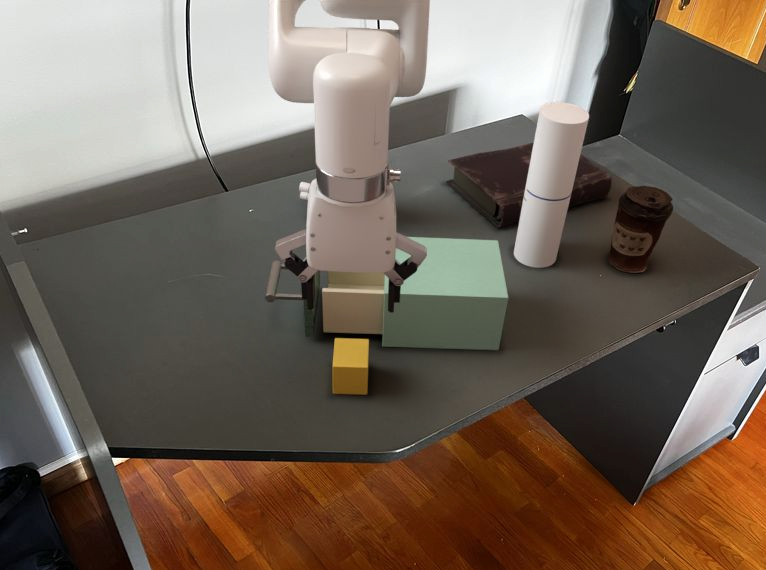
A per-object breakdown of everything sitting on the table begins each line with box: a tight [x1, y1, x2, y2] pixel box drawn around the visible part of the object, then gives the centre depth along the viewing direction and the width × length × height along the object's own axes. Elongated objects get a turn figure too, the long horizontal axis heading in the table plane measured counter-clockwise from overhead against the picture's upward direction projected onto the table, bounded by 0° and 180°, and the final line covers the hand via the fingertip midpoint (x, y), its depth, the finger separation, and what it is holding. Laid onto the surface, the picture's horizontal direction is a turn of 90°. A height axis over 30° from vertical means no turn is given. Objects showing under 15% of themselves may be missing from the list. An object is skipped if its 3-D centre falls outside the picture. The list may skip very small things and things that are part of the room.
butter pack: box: [331, 337, 370, 396], centre depth 97 cm, size 4×6×5 cm
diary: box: [445, 142, 613, 229], centre depth 137 cm, size 19×25×5 cm
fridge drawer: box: [264, 260, 385, 338], centre depth 106 cm, size 21×12×8 cm, turn 91°
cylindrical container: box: [513, 101, 590, 269], centre depth 115 cm, size 7×7×25 cm
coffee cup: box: [608, 185, 674, 274], centre depth 119 cm, size 9×8×13 cm
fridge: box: [381, 236, 509, 351], centre depth 107 cm, size 17×14×10 cm
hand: (351, 304), depth 90 cm, fingers open, 9 cm apart
